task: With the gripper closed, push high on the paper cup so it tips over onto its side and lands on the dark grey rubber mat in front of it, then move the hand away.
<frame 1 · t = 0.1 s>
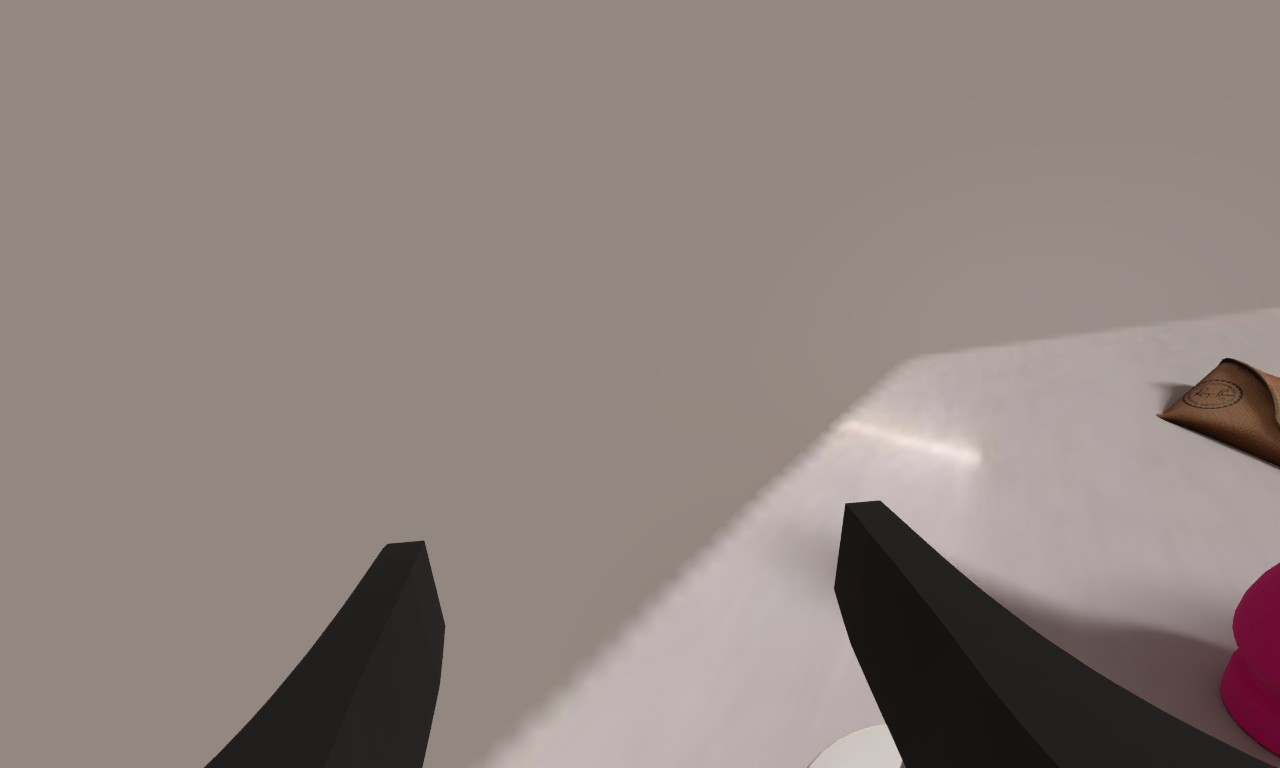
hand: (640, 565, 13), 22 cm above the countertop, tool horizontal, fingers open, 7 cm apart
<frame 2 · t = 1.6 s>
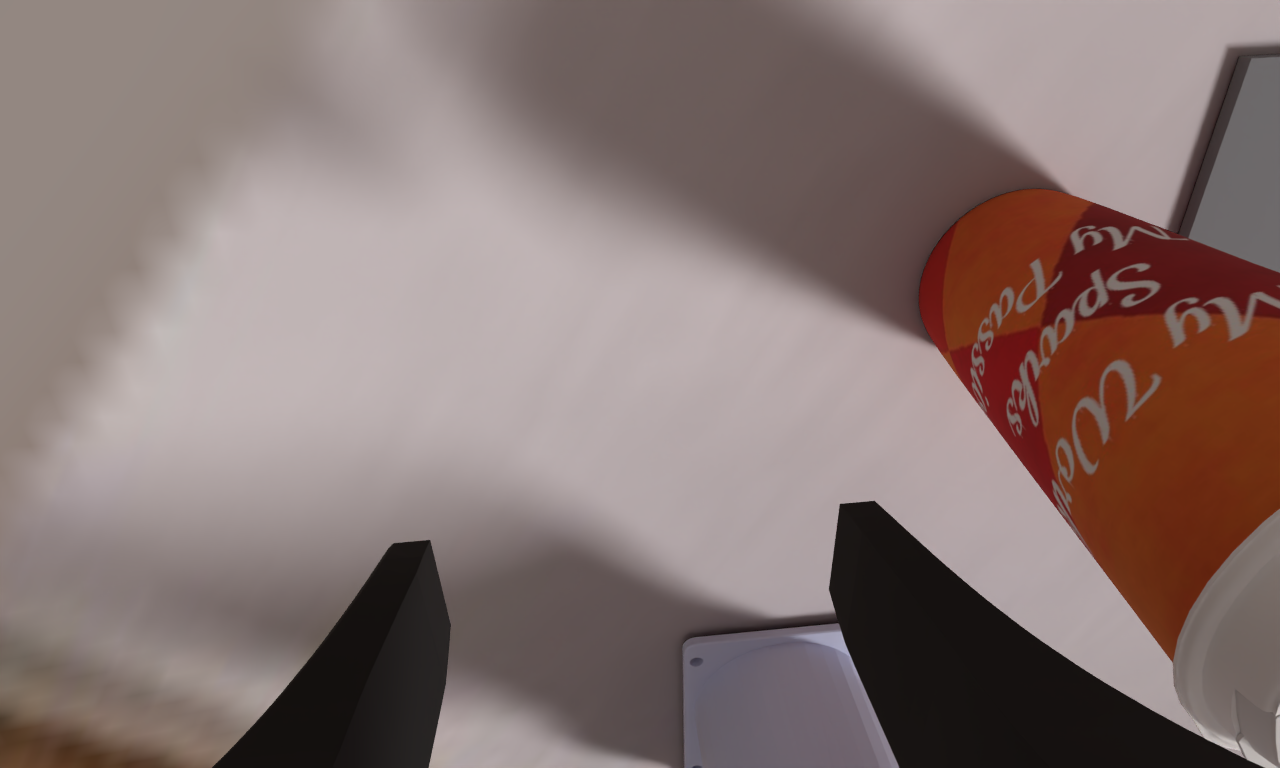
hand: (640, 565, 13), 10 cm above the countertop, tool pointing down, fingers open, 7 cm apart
paper cup: (1003, 278, 23), on the countertop
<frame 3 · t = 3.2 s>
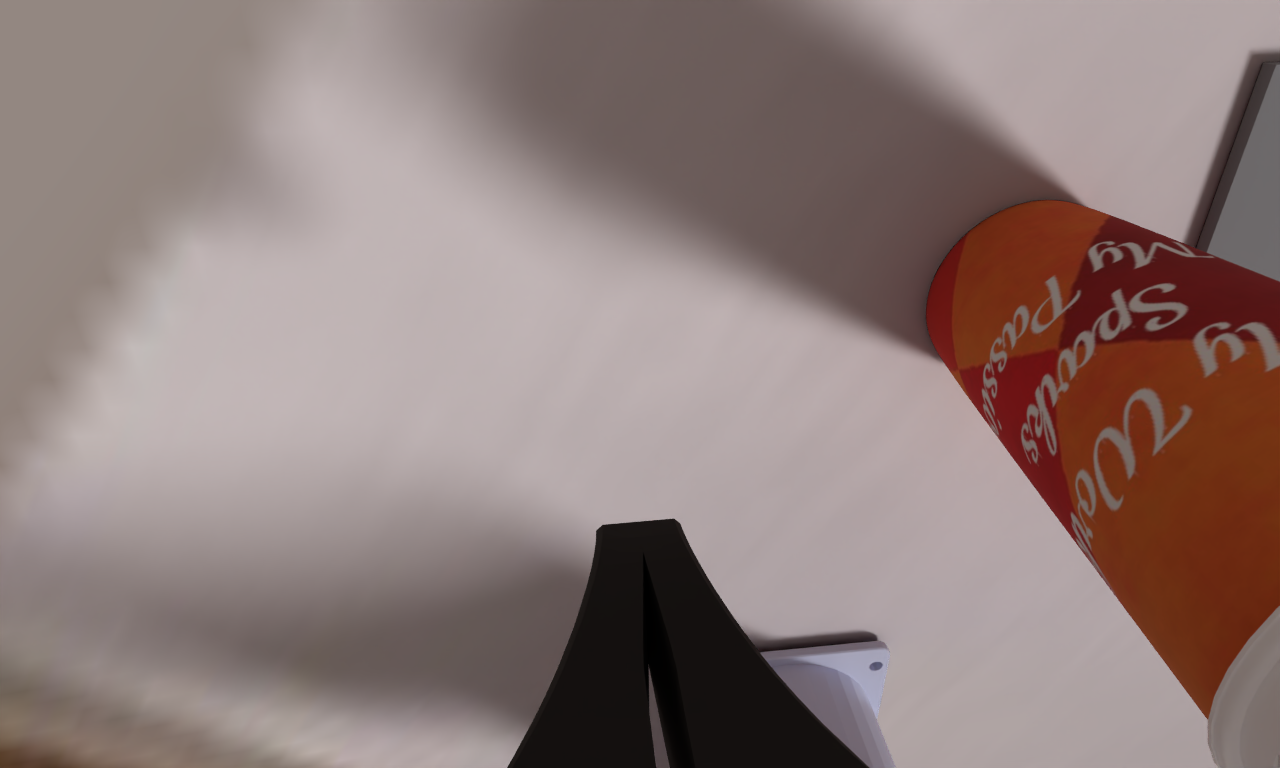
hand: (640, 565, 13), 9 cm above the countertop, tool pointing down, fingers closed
paper cup: (1014, 292, 22), on the countertop
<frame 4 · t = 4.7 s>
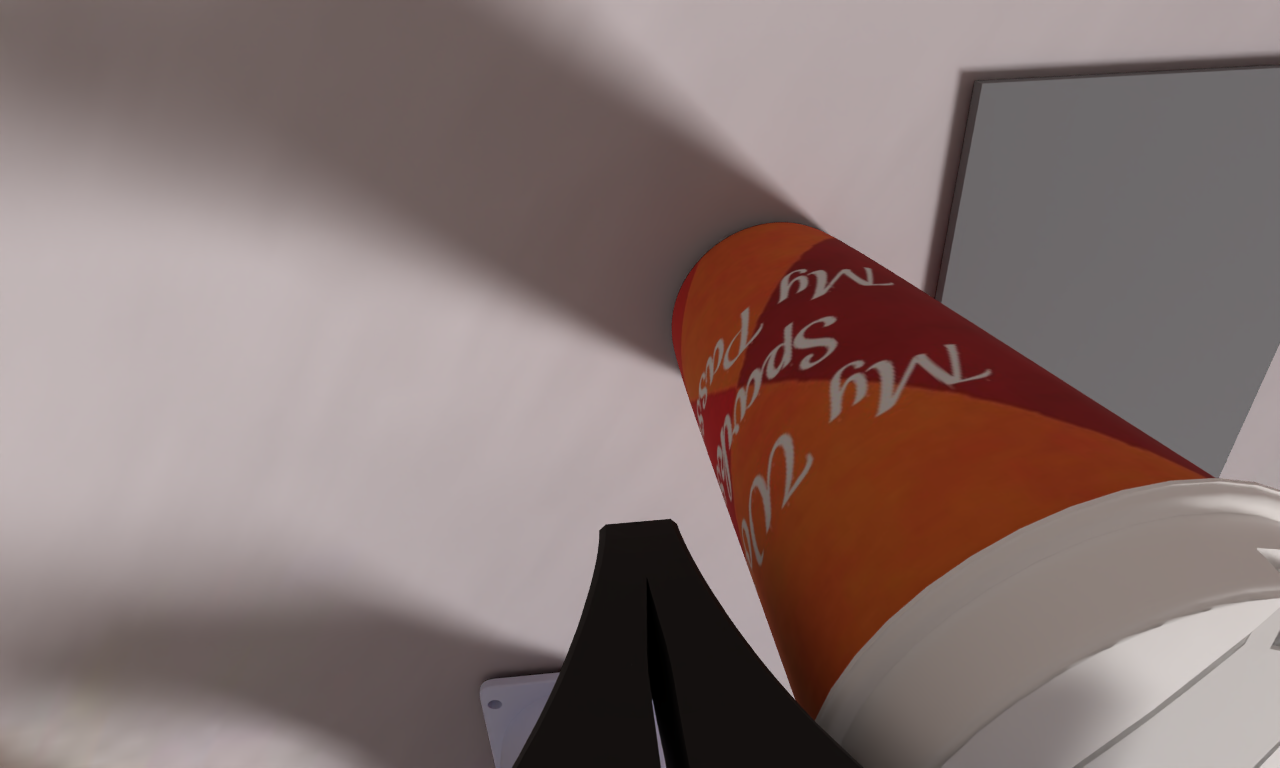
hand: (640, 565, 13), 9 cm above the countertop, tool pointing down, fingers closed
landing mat: (1098, 350, 23), on the countertop
paper cup: (763, 316, 21), on the countertop, touching gripper
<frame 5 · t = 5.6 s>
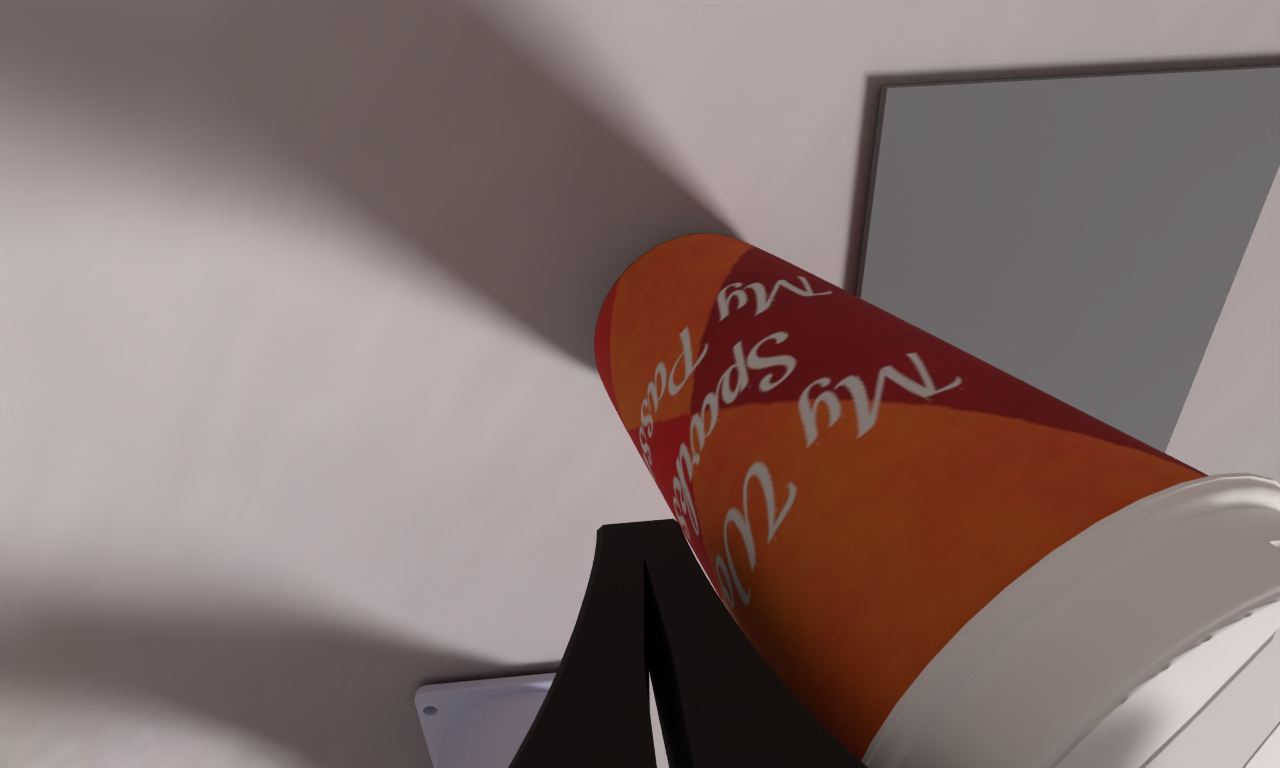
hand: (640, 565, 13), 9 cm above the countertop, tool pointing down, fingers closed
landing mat: (1023, 355, 23), on the countertop
paper cup: (685, 330, 21), point 1 cm above the countertop, touching gripper
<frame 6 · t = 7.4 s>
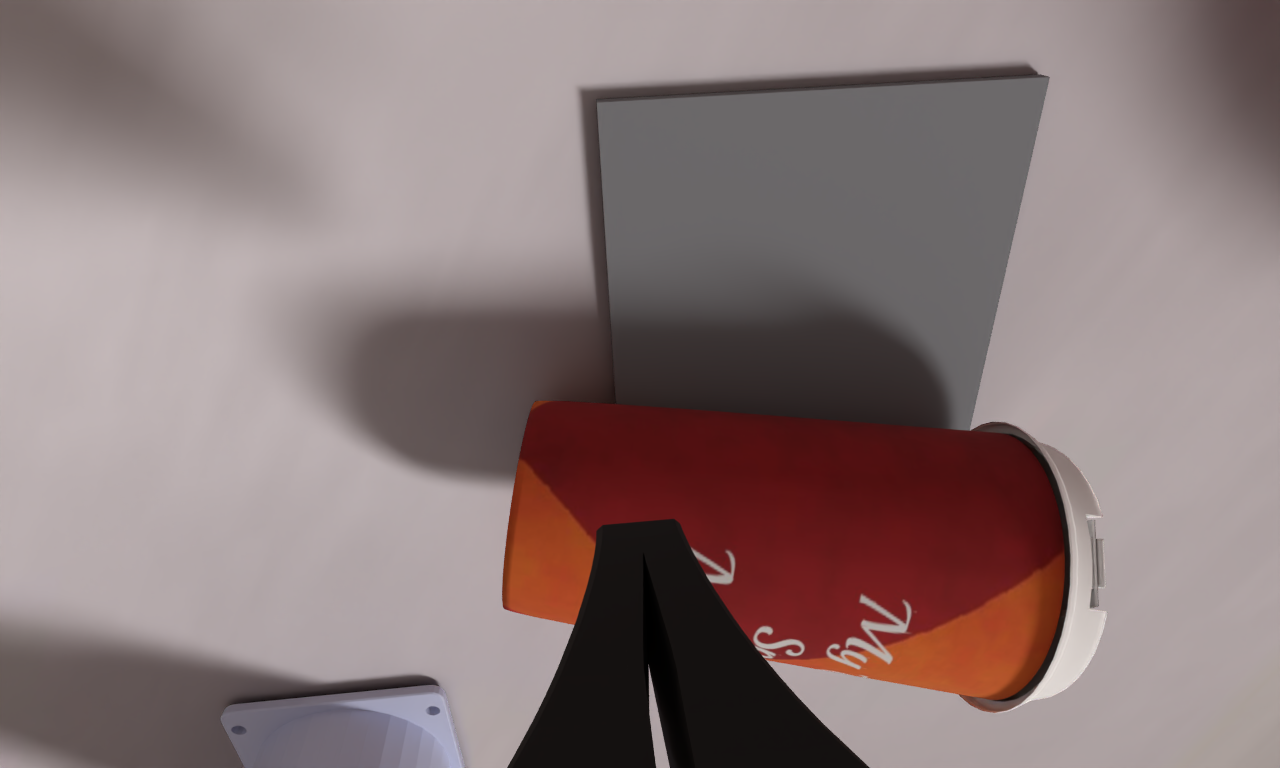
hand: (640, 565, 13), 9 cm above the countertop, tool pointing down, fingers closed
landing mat: (798, 371, 22), on the countertop
paper cup: (514, 502, 20), point 3 cm above the countertop, touching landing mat
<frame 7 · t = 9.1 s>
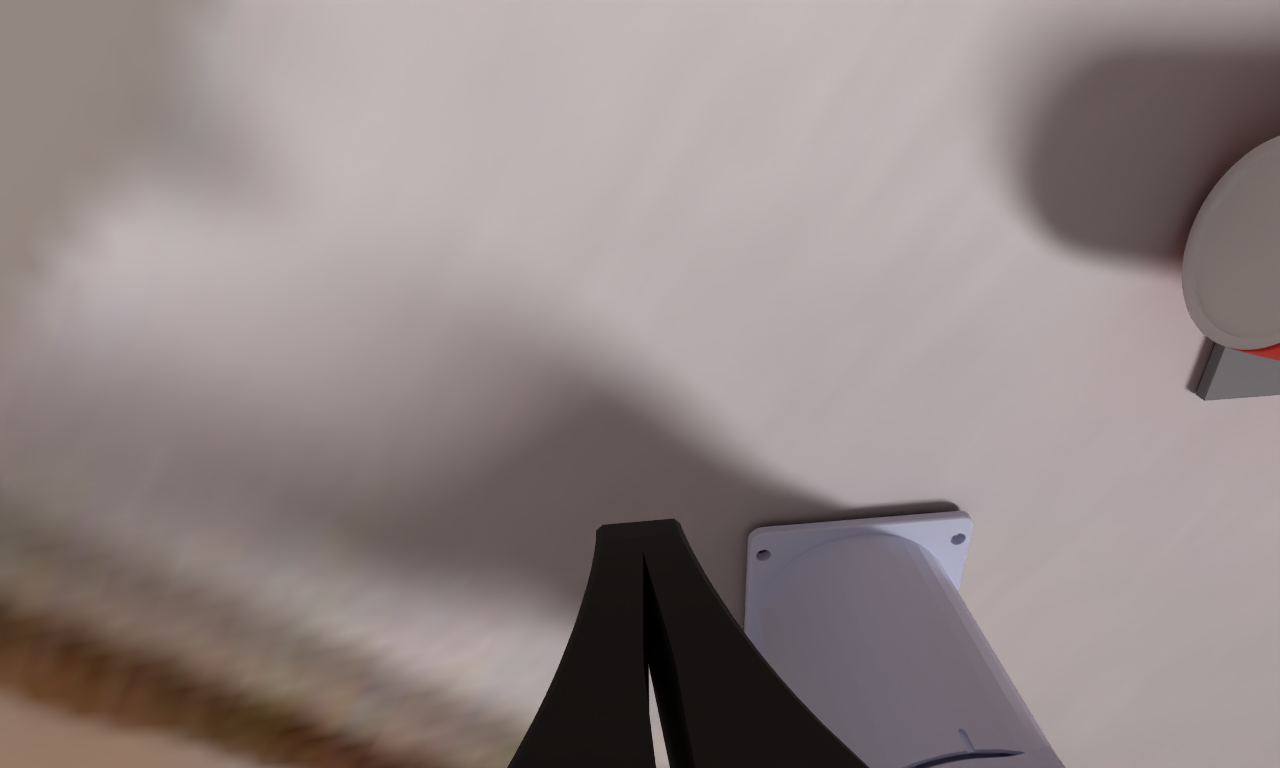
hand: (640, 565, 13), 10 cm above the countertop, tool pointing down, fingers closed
paper cup: (1254, 242, 19), point 3 cm above the countertop, touching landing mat
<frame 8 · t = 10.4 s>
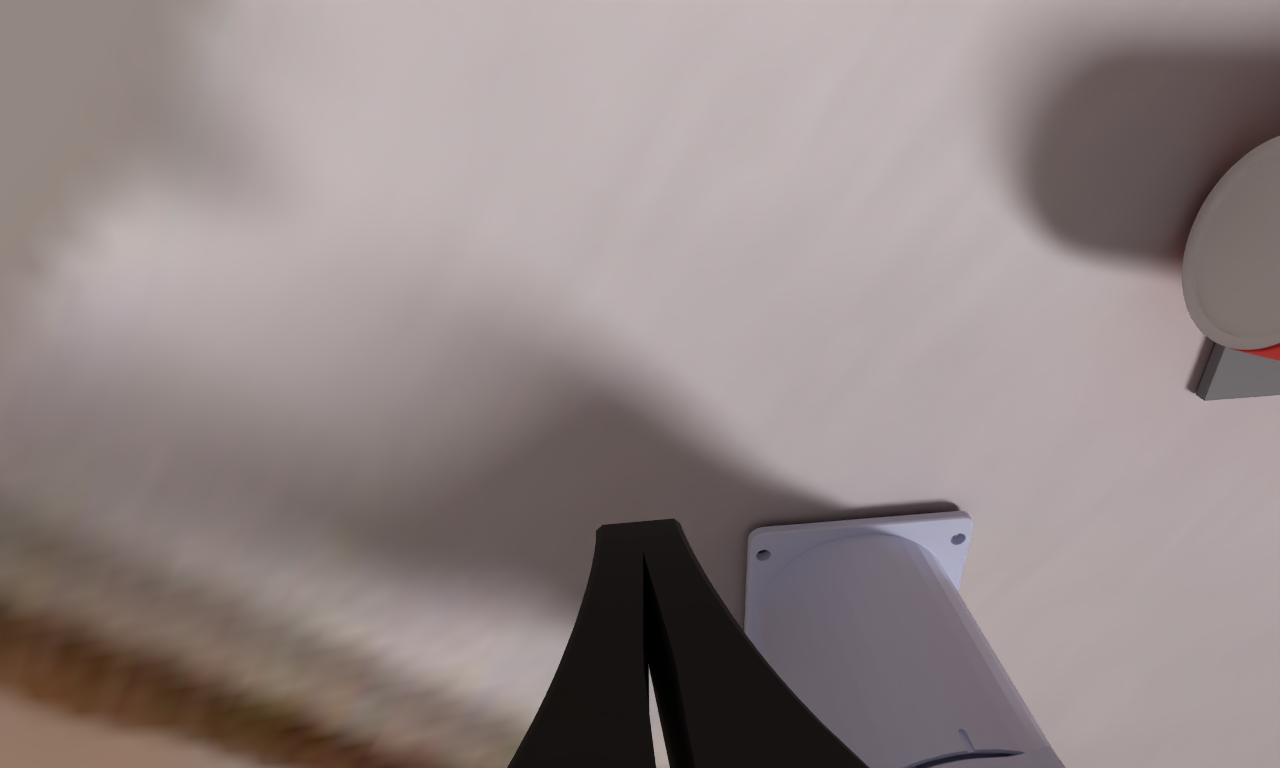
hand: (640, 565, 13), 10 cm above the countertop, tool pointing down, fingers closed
paper cup: (1254, 242, 19), point 3 cm above the countertop, touching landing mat
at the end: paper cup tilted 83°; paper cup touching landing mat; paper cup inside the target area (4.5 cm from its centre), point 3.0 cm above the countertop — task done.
